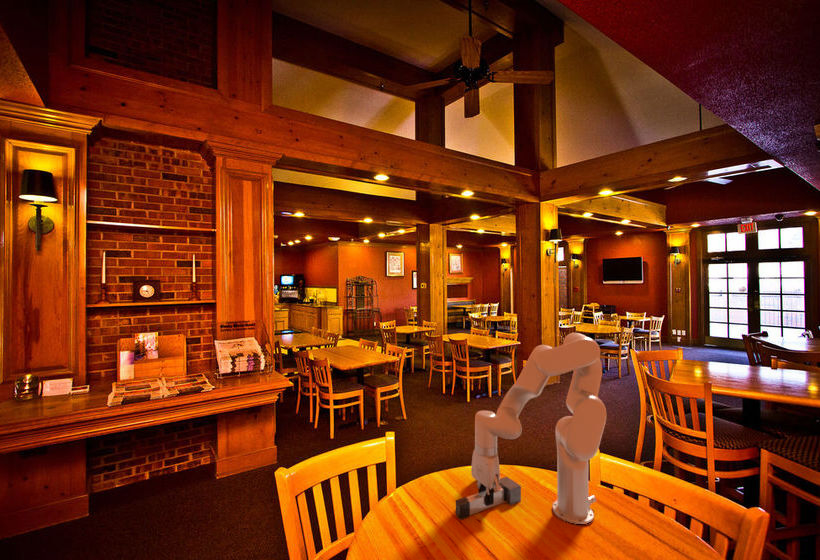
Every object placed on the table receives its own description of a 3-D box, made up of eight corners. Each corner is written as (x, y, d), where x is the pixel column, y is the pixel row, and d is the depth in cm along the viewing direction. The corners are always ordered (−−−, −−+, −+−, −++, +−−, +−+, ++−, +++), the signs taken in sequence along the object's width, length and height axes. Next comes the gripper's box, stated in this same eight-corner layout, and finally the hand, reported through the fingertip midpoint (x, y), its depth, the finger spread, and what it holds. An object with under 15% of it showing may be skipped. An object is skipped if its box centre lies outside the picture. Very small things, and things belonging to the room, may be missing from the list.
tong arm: (501, 500, 131) (501, 487, 131) (504, 502, 129) (504, 489, 129) (457, 517, 122) (457, 503, 122) (459, 519, 120) (459, 505, 120)
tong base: (506, 491, 137) (506, 476, 137) (520, 501, 131) (520, 485, 131) (452, 512, 125) (452, 495, 125) (465, 523, 119) (465, 506, 119)
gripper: (462, 441, 133) (462, 493, 133) (493, 461, 119) (493, 518, 119) (479, 437, 137) (479, 487, 137) (511, 455, 122) (511, 511, 122)
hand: (485, 501), depth 128 cm, fingers open, 2 cm apart
